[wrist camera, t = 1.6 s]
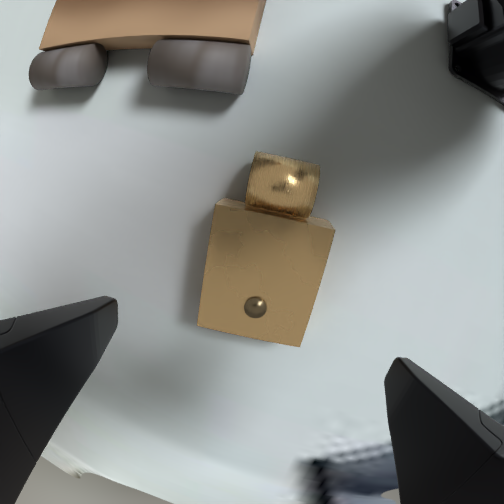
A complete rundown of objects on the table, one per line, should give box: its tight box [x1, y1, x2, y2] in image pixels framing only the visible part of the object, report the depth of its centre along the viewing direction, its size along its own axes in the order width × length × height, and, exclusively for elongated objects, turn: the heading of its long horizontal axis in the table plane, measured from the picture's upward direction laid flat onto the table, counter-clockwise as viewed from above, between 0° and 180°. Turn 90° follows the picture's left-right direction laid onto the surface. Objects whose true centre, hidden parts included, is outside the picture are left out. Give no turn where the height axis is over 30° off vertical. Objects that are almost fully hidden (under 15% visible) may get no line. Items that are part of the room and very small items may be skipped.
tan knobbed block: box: [197, 151, 335, 347], centre depth 16 cm, size 10×6×3 cm, turn 169°
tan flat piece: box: [29, 0, 266, 95], centre depth 12 cm, size 11×14×3 cm
